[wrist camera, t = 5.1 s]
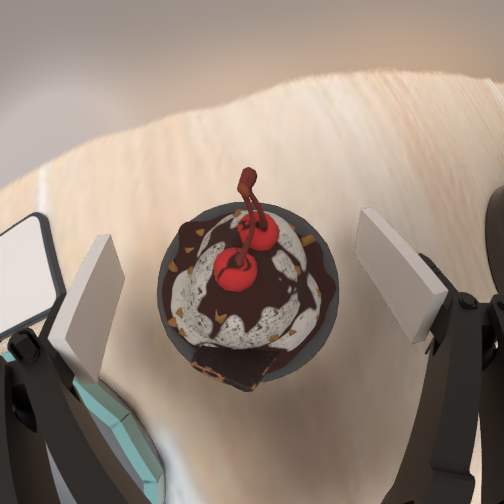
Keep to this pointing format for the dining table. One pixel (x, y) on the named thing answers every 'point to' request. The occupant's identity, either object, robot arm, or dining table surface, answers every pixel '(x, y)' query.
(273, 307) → the sundae
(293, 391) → the dining table surface
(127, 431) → the round tray
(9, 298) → the smartphone
